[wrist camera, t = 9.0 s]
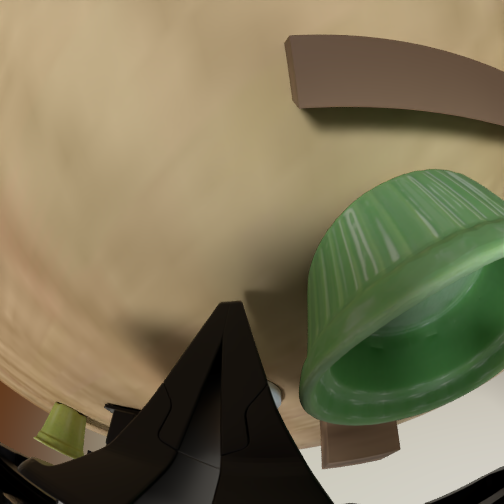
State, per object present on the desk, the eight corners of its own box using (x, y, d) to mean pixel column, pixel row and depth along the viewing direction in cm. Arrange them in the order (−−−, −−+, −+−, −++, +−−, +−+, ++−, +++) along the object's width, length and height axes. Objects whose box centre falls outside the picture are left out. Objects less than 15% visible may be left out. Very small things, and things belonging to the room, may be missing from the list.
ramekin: (507, 134, 5) (598, 203, 2) (475, 306, 10) (505, 376, 7) (254, 187, 7) (240, 319, 4) (316, 354, 12) (322, 438, 9)
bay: (460, 358, 14) (466, 375, 12) (304, 388, 15) (305, 409, 14) (558, 105, 3) (582, 118, 2) (284, 43, 5) (289, 35, 4)
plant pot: (42, 390, 28) (27, 435, 21) (93, 416, 30) (81, 463, 23) (53, 403, 33) (41, 441, 27) (97, 424, 36) (87, 463, 29)
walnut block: (374, 409, 19) (380, 459, 15) (319, 417, 20) (321, 469, 16) (390, 388, 16) (400, 449, 12) (325, 398, 17) (328, 463, 13)
